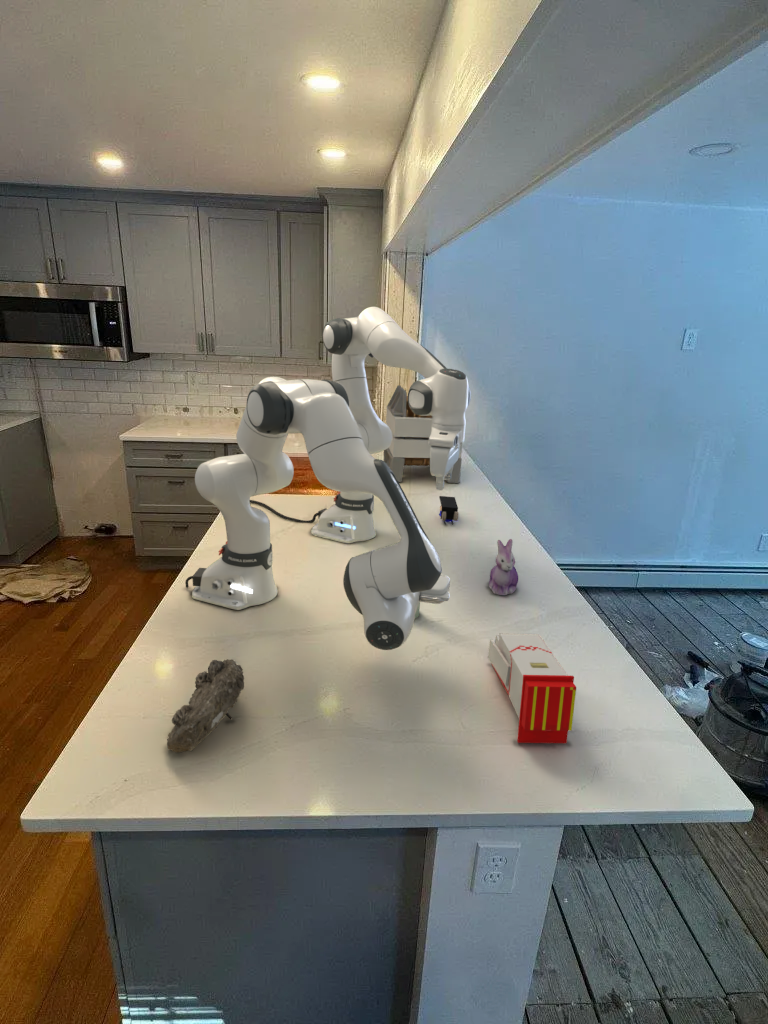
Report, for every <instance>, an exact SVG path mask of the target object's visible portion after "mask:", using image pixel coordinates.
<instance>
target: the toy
mask: <svg viewBox="0 0 768 1024" xmlns="http://www.w3.org/2000/svg"><path fill="white" fill-rule="evenodd" d="M487 659H488V661H489V662H490V663H491V666H492V668H493V670H494V671H495V673H496V676H497V678H498V679H499V681H500V682H501V685H502V686H503V689H504V690H505V692H506V694H507V695H508V698H509V700H510V702H511V705H512V706H513V708H514V711H515V713H516V715H517V717H518V728H517V741H516V742H517V743H518V744H567V743H568V734H569V732H570V731H573V720H574V711H575V704H576V696H577V695H576V694H577V686H576V685H575V683H574V681H575V676H574V675H569V674H568V673H567V671H566V670H565V669H564V667H563V666H562V664H560V662H559V661H558V659H557V657H556V656H555V655H554V653H553V651H552V650H551V649H550V648H549V646H548V644H547V643H546V641H545V639H543V638H542V636H541V635H540V633H503V632H501V633H499V634H496V635H495V639H494V640H493V639H489V644H488V652H487Z"/></svg>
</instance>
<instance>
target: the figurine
mask: <svg viewBox="0 0 768 1024" xmlns="http://www.w3.org/2000/svg"><path fill="white" fill-rule="evenodd" d="M496 542H497V543H496V545H497V555H496V557H495V564H496V565H494V566H493V567H492V568H491V569H490V573H489V581H488V587H489V589H490V590H491V591H492V593H493V594H495V595H499V596H507V595H509V594H513V593H514V592H515V591H516V590H517V587H518V583H519V574H518V571H517V568H516V567H515V565H516V559H515V555H514V554H513V551H512V549H513V543H514V542H513V539H512V538H509V539H508V540H507V542H506V544H505V545H504V544H503V541H502V540H501V539H498V540H497V541H496Z"/></svg>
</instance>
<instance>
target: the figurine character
mask: <svg viewBox="0 0 768 1024" xmlns="http://www.w3.org/2000/svg"><path fill="white" fill-rule="evenodd" d="M439 501H440V506H439V513H438V515H439V517H440V520H441V521H443V525H447V523H450V524H451V526H454V525H455V523H454V522H458V520H459V512H458V511H459V507H458V503H457V500H456V496H444V495H439Z"/></svg>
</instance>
